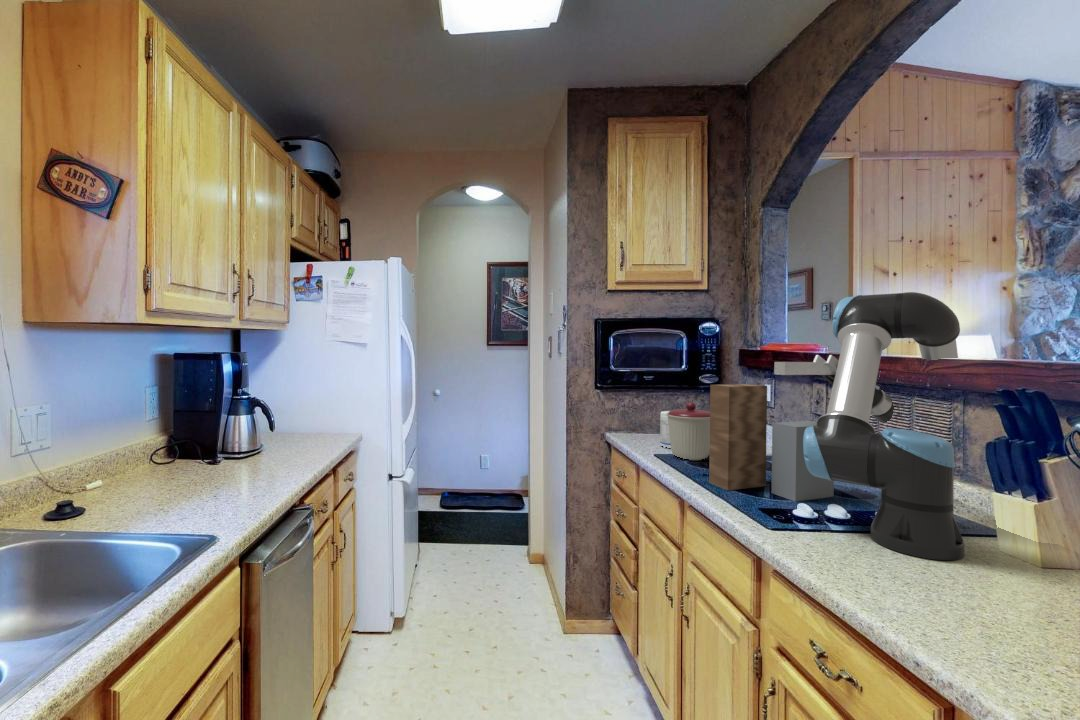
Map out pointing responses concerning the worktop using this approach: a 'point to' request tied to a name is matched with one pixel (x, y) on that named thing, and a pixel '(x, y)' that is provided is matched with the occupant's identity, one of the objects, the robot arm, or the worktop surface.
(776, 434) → the gray rectangular block
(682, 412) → the canister
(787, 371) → the steel lever bar
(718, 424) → the walnut column
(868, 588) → the worktop surface
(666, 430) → the supplement tub
